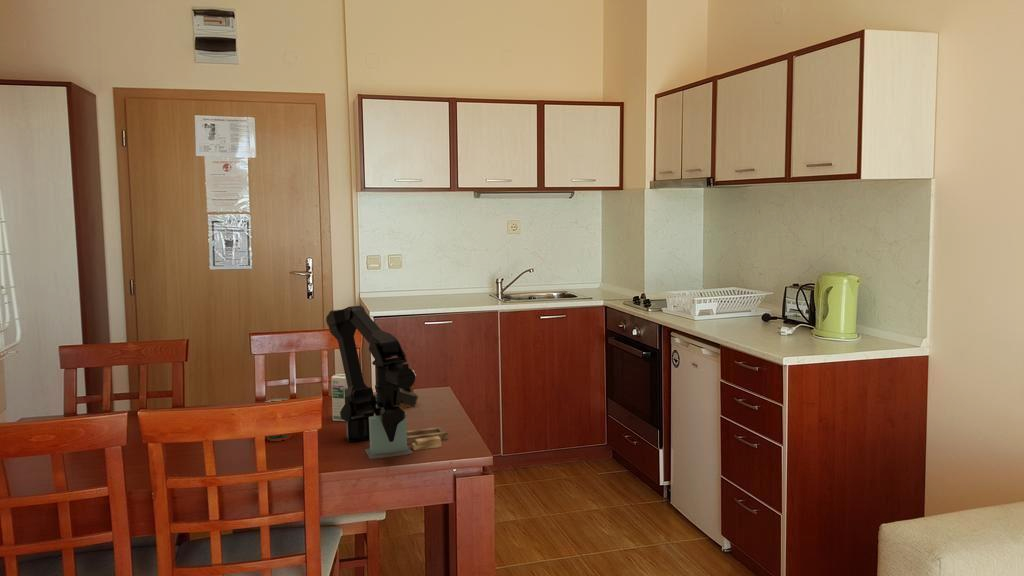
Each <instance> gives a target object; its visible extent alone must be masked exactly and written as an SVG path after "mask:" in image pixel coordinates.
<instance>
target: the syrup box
mask: <svg viewBox="0 0 1024 576" xmlns="http://www.w3.org/2000/svg"><path fill="white" fill-rule="evenodd" d="M330 383H331V398H332V399H331V404H332V407H331V408H332V421H334V422H335V421H336V422H337V421H338V422H346V421H345V420H342V419H341V415H340V411H341V410H342V408H343V406H344V405H345V394H346V391H347V389H348V386H347V381H346V376H345V373H336V374H334V375H332V376H331V377H330Z"/></svg>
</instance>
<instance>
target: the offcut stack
mask: <svg viewBox="0 0 1024 576" xmlns="http://www.w3.org/2000/svg"><path fill="white" fill-rule="evenodd" d="M411 448H412V449H413V451H421V450H428V449H429V448H430V449H437V448H442V440H441V438H440V437H439V436H434V437H427V438H420V439H415V443H412V444H411Z"/></svg>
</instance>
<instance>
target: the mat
mask: <svg viewBox="0 0 1024 576" xmlns="http://www.w3.org/2000/svg"><path fill="white" fill-rule="evenodd" d="M364 452H365V453H366V455H367V456H368V459H369V460H376V459H383V458H384V459H385V458H391V457H392V458H393V457H399V456H409V455H413V454H414V452H413V451H412V449H411V448H410V446H409V444H408V445H407V450H405V451H397V452H389V453H381V454H373V455H372V454H371V452H370V448H365V449H364ZM408 454H409V455H408Z"/></svg>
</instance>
